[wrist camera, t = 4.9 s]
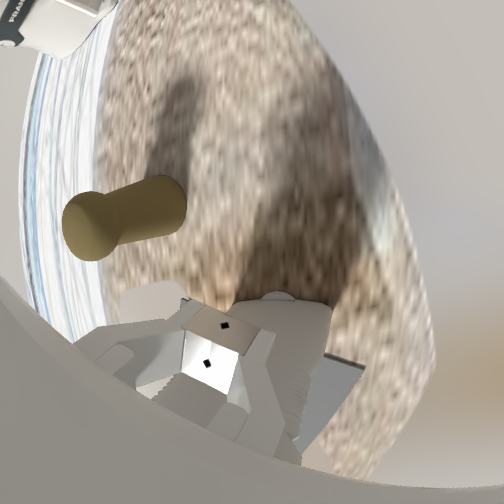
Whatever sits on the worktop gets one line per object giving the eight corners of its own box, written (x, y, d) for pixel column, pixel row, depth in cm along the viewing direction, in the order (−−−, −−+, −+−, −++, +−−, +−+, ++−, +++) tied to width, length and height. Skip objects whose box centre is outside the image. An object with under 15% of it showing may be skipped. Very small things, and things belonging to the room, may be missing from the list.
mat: (182, 297, 29) (181, 298, 29) (364, 368, 25) (364, 370, 24) (172, 411, 38) (171, 412, 37) (292, 463, 33) (292, 464, 33)
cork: (194, 228, 26) (109, 267, 17) (148, 239, 29) (66, 276, 19) (177, 166, 25) (83, 177, 15) (133, 185, 27) (45, 203, 18)
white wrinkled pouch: (336, 289, 23) (245, 577, 4) (337, 330, 24) (262, 584, 5) (223, 290, 27) (42, 461, 8) (231, 326, 28) (83, 500, 9)
